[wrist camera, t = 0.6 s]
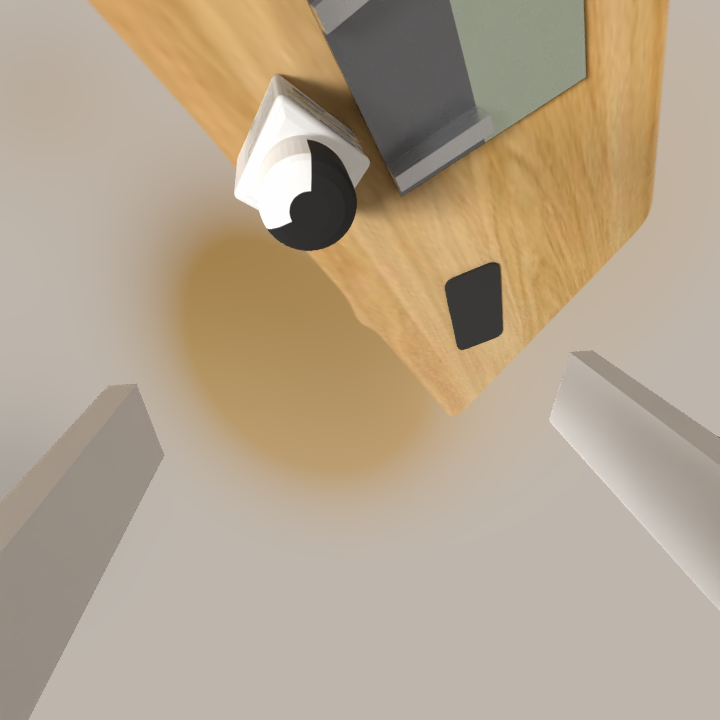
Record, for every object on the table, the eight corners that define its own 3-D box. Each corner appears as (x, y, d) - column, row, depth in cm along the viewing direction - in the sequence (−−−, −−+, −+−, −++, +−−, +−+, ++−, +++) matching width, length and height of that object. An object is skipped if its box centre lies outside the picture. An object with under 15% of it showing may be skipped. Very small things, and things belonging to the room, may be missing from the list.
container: (354, 132, 32) (390, 192, 24) (310, 205, 36) (328, 279, 28) (274, 70, 28) (284, 116, 19) (235, 161, 32) (229, 232, 23)
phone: (458, 352, 58) (444, 284, 46) (456, 348, 58) (442, 280, 47) (503, 335, 57) (499, 261, 46) (500, 331, 57) (496, 257, 46)
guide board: (290, -33, 24) (295, -33, 22) (563, -282, 19) (611, -320, 17) (398, 192, 37) (410, 209, 34) (579, 74, 32) (608, 84, 30)
